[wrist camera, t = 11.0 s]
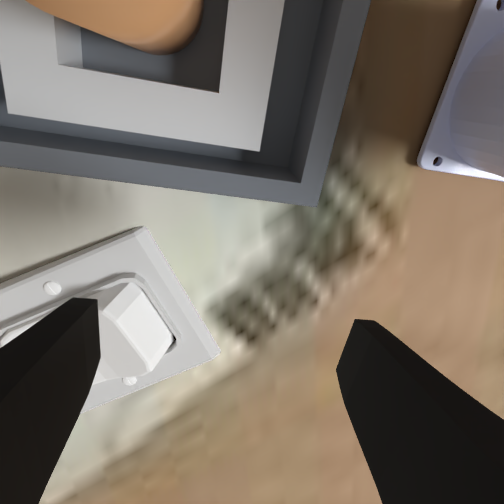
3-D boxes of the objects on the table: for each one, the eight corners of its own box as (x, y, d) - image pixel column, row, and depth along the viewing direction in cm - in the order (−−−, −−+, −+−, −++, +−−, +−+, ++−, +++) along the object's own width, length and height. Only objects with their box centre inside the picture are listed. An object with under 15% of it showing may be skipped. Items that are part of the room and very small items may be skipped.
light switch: (226, 383, 21) (47, 455, 21) (222, 339, 25) (69, 402, 25) (138, 243, 16) (-92, 342, 17) (149, 215, 20) (-39, 296, 20)
